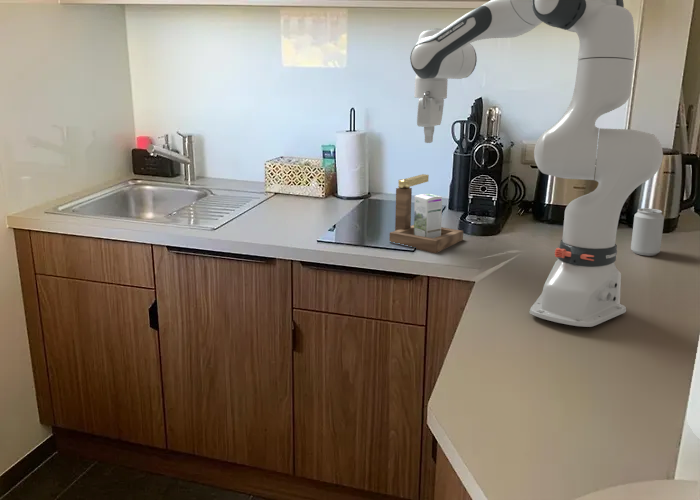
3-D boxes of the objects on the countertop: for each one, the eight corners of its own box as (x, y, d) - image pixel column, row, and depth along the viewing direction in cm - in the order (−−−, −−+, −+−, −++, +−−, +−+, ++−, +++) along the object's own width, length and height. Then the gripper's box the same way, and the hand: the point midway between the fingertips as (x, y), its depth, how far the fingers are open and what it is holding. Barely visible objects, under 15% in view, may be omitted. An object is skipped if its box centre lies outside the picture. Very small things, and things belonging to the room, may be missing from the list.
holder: (435, 255, 192) (437, 198, 188) (383, 245, 202) (384, 191, 198) (462, 244, 203) (465, 190, 199) (412, 235, 213) (413, 184, 209)
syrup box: (441, 246, 201) (443, 196, 197) (425, 249, 197) (427, 198, 194) (428, 242, 205) (430, 192, 202) (412, 245, 202) (413, 194, 198)
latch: (406, 188, 201) (406, 181, 200) (396, 187, 202) (396, 180, 202) (430, 181, 212) (430, 174, 212) (420, 180, 214) (420, 174, 213)
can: (662, 257, 192) (667, 213, 188) (632, 255, 193) (637, 211, 190) (656, 250, 199) (661, 207, 196) (628, 248, 200) (632, 206, 197)
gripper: (436, 91, 184) (434, 145, 187) (447, 92, 204) (445, 141, 206) (412, 90, 186) (410, 144, 189) (425, 92, 205) (423, 140, 208)
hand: (428, 142), depth 198 cm, fingers closed
